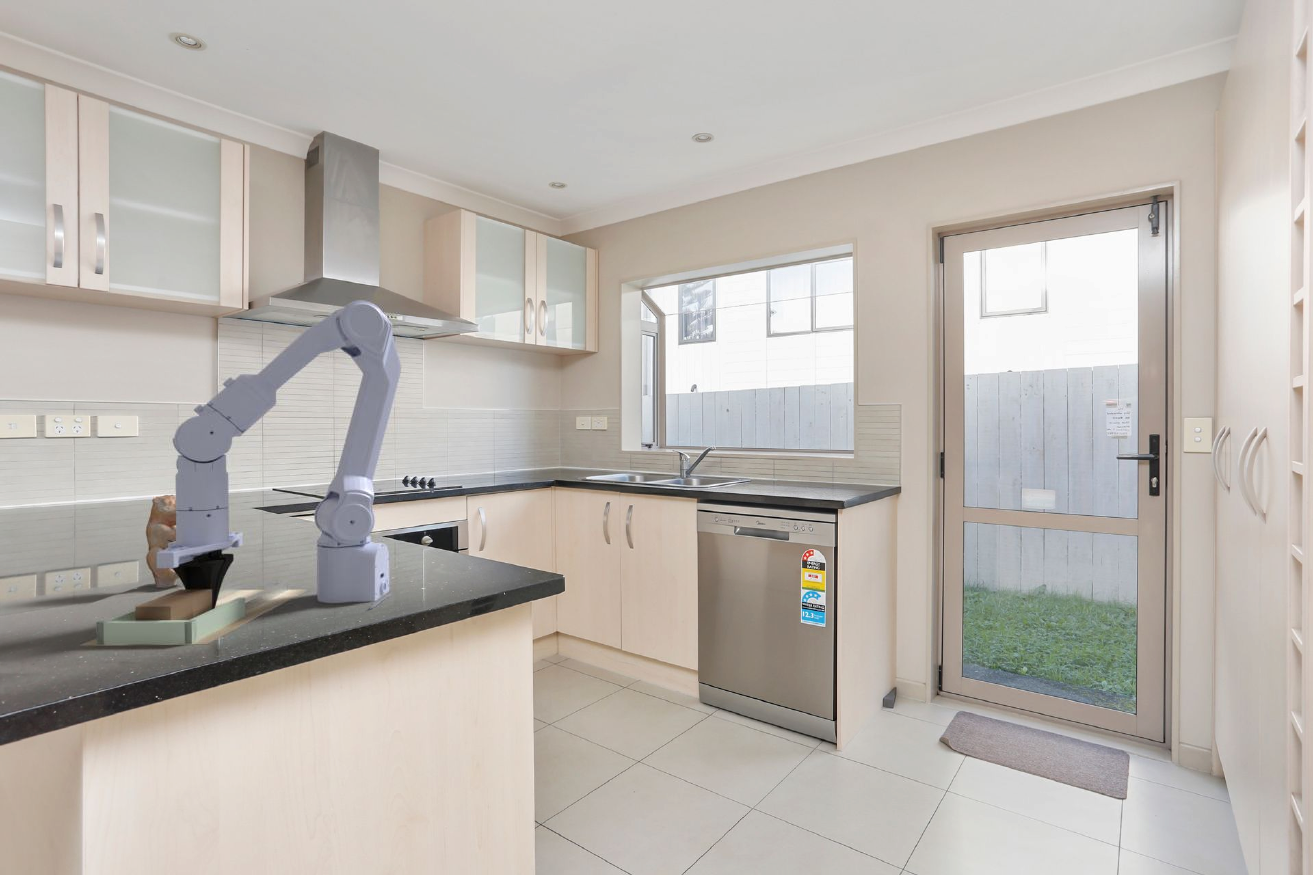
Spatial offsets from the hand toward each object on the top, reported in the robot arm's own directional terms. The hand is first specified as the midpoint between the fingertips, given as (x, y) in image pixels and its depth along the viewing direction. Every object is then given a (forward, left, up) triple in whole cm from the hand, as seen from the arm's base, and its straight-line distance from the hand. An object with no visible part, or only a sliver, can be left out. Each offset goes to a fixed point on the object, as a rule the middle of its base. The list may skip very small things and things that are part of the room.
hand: (203, 611), depth 87 cm
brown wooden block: (0, +4, -1) cm, 4 cm away
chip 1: (0, +8, -1) cm, 8 cm away
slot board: (0, -1, -2) cm, 2 cm away
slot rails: (0, -8, -1) cm, 8 cm away
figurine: (+16, -18, -2) cm, 24 cm away
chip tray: (0, +5, -1) cm, 5 cm away
